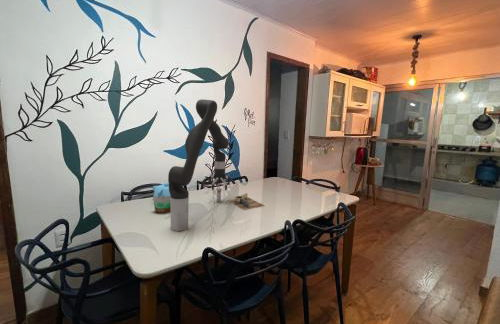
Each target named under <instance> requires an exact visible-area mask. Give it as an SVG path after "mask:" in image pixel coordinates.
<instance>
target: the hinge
mask: <svg viewBox="0 0 500 324" xmlns="http://www.w3.org/2000/svg"><path fill="white" fill-rule="evenodd" d="M247 197H248V193H247V192H246V193H243V194H242V195H235V196H234V199H235V203H236V204H241V205H243V206H245V207H247V208H249V205H250V202H248V201H246V199H247Z"/></svg>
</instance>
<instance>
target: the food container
mask: <svg viewBox="0 0 500 324" xmlns="http://www.w3.org/2000/svg"><path fill="white" fill-rule="evenodd" d="M152 201H153V205H154V212H155V213H156V214H162V215H163V214H169V213H170V197H165V196H161V197H154V195H153V196H152Z"/></svg>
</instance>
